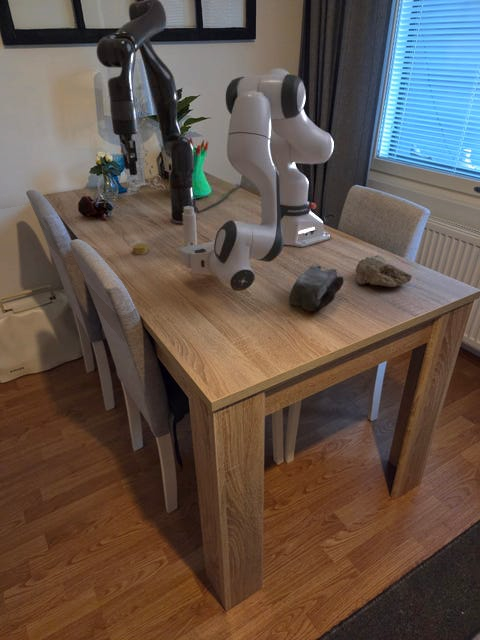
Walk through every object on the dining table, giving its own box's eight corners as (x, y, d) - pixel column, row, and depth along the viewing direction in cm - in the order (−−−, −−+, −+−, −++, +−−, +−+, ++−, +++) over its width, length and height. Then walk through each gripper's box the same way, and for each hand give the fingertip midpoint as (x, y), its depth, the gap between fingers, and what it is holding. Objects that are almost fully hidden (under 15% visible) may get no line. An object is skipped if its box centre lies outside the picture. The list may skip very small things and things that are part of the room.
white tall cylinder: (183, 257, 153) (180, 209, 144) (187, 252, 156) (184, 205, 147) (195, 258, 152) (193, 210, 143) (199, 253, 156) (196, 205, 147)
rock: (323, 321, 117) (326, 295, 113) (284, 311, 122) (285, 285, 118) (343, 292, 131) (347, 268, 127) (308, 284, 136) (310, 260, 132)
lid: (149, 250, 158) (149, 244, 157) (142, 255, 155) (141, 249, 153) (138, 248, 160) (137, 242, 159) (131, 253, 156) (130, 247, 155)
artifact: (373, 298, 130) (414, 291, 135) (379, 276, 125) (421, 270, 130) (340, 268, 143) (378, 263, 148) (345, 247, 139) (384, 242, 144)
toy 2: (167, 190, 223) (163, 137, 210) (207, 188, 227) (205, 135, 214) (172, 202, 206) (167, 145, 193) (214, 199, 210) (213, 143, 197)
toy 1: (105, 189, 179) (76, 188, 184) (97, 209, 176) (68, 207, 182) (121, 206, 189) (93, 204, 195) (114, 225, 187) (85, 223, 192)
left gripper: (107, 114, 138) (115, 167, 147) (115, 120, 127) (123, 178, 136) (132, 113, 141) (138, 166, 149) (141, 119, 130) (147, 175, 138)
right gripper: (252, 242, 131) (233, 227, 142) (186, 254, 124) (171, 237, 135) (251, 262, 135) (233, 245, 145) (188, 274, 128) (173, 256, 138)
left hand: (130, 171), depth 143 cm, fingers open, 8 cm apart
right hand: (203, 242), depth 140 cm, fingers open, 8 cm apart
